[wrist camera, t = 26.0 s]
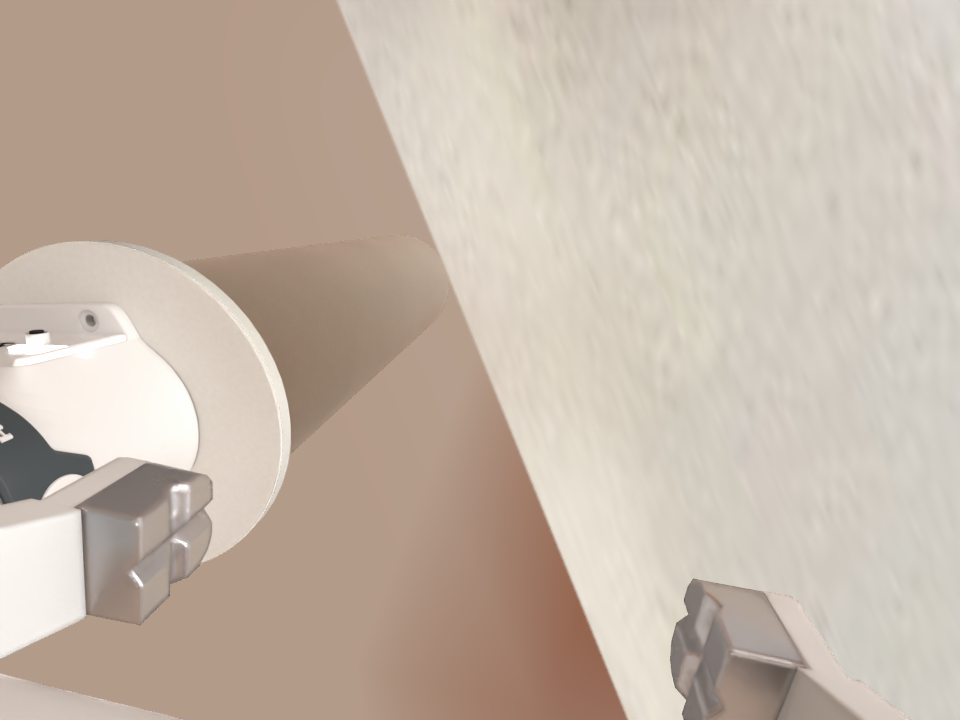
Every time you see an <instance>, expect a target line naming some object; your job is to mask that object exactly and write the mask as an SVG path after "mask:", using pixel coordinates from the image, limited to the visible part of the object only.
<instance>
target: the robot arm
mask: <svg viewBox="0 0 960 720" xmlns="http://www.w3.org/2000/svg"><path fill="white" fill-rule="evenodd" d="M93 317H94V318H95V320H96V323H95V322H94V320H93ZM198 444H199V428H198V421H197V416H196V412H195V409H194V405H193V403H192V400H191V398H190V396H189V393H188V391H187V390H186V388H185V386H184V384H183V383H182V381H181V379H180V378H179V377H178V375H177V374H176V373H175V371H174V370H173V369H172V368H171V367H170V365H169V364H168V363H167V362H166V361H165V360H164V359H163V358H162V357H160V356H159V355H158V354H157V353H156V352H155V351H154V350H152V349H151V348H150V347H149V346H148V345H147V344H146V343H145V342H144V341H143V340H142V339H141V337H140V335H139V334H138V332H137V330H136V328H135V327H134V325H133V323H132V321H131V320H130V318H129V317H128V315H127V314H126V312H125V311H124V310H123V309H122V308H121V307H120V306H119V305H117V304H115V303H112V302H82V303H23V304H0V659H1V658H3V657H5V656H7V655H9V654H11V653H14V652H16V651H18V650H20V649H22V648H24V647H26V646H28V645H30V644H32V643H34V642H36V641H38V640H40V639H43V638H45V637H47V636H49V635H51V634H53V633H55V632H57V631H59V630H61V629H63V628H65V627H67V626H69V625H72V624H74V623H75V622H78V621H80V620H82V619H84V618H86V615H92V616H96V617H102V618H106V619H111V620H117V621H121V622H126V623H131V624H136V625H141V624H142V623H143V622H144V621H145V620H146V619H147V618H148V617H149V616H150V615H151V614H152V613H153V612H154V611H155V610H156V609H157V608H158V607H159V606H160V605H161V604H162V603H163V602H164V601H165V600H166V599H167V598H168V597H169V596H170V584H172V583H175V582H177V581H180V580H182V579H185V578H188V577H189V576H190V575H191V574H192V573H193V571H195V570H196V568H197V567H198V566H199V565H200V563H201V562H202V560H203V558H204V556H205V554H206V552H207V550H208V548H209V544H210V540H211V536H212V521H211V519H210V517H209V516H208V514H207V512H206V511H205V509H204V508H205V507H206V506H207V505H208V504H209V503H210V502H211V501H212V499H213V481H212V480H211V479H210V478H209V477H208V475H205V474H201V473H197V472H192V471H191V469H192V467H193V464H194V462H195V459H196V455H197V451H198ZM684 602H685V605H686V608H687V611H688V614H689V615H687V616H686V617H684V618H683V619H682V620H680V621H679V622H677V623H676V627H675V630H674V634H673V638H672V643H671V656H670V662H671V672H672V677H673V681H674V685H675V688H676V689H677V690H678V691H679V692H680V693H681V695H682V696H683V697H684V698H685V699H686V703H685V706H684V709H683V712H682V715H683V719H684V720H911V719H910V718H908V717H907V716H906V715H904V714H903V713H902V712H900V711H899V710H898V709H896V708H895V707H894V706H892V705H891V704H890V703H888V702H887V701H886V700H884V699H883V698H882V697H881V696H879V695H878V694H877V693H875V692H874V691H873V690H871V689H870V688H869V687H867V686H866V685H865V684H863V683H862V682H861V681H858V680H853V679H849V678H848V677H847V675H846V674H845V672H844V671H843V669H842V668H841V666H840V665H839V663H838V661H837V660H836V658H835V657H834V655H833V654H832V652H831V651H830V649H829V648H828V646H827V645H826V643H825V642H824V640H823V638H822V637H821V635H820V634H819V632H818V631H817V629H816V628H815V626H814V625H813V623H812V622H811V620H810V619H809V617H808V615H807V614H806V612H805V611H804V609H803V608H802V606H801V605H800V603H799V602H798V601H797V600H795V599H794V598H793V597H791V596H787V595H781V594H775V593H769V592H764V591H756V590H751V589H745V588H740V587H735V586H729V585H724V584H719V583H713V582H708V581H703V580H698V579H693V580H692V581H691V583H690V584H689V586H688V588H687V591H686V594H685V598H684ZM0 720H185V719H181V718H177V717H173V716H169V715H165V714H161V713H157V712H153V711H149V710H145V709H141V708H137V707H133V706H128V705H124V704H120V703H116V702H112V701H108V700H104V699H100V698H96V697H92V696H88V695H84V694H80V693H76V692H71V691H67V690H64V689H59V688H56V687H52V686H47V685H44V684H40V683H36V682H31V681H27V680H23V679H19V678H15V677H11V676H7V675H3V674H0Z"/></svg>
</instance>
